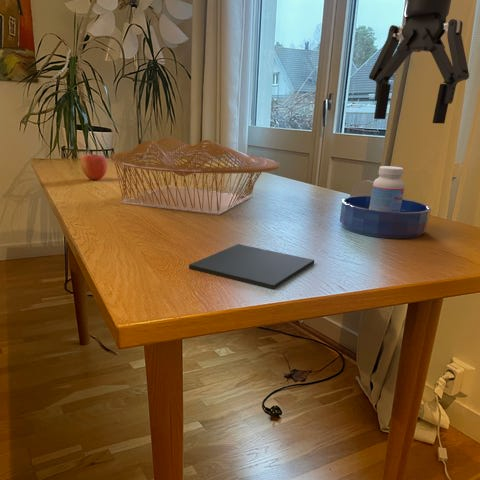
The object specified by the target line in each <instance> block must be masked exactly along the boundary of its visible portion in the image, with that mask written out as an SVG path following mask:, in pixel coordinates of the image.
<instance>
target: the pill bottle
mask: <svg viewBox="0 0 480 480" xmlns="http://www.w3.org/2000/svg"><path fill="white" fill-rule="evenodd" d="M378 175H379V176H378V177H377V178H375V179H374V181H373V182H374V183H373V188H372V194H371V200H370V206H369V209H370V210H376V211H385V212H400V209H401V204H402V199H404V198H403V197H404V191H405V187H406V186H405V185H406V184H405V182H404V181H403V180H402V177H403V175H404V168H403V167H401V166H392V165H381V166H379V169H378Z"/></svg>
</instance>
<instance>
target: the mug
mask: <svg viewBox="0 0 480 480" xmlns="http://www.w3.org/2000/svg"><path fill="white" fill-rule="evenodd" d="M373 183H374V181H373V180H369V179H365V180H361V181H359V182H357V183H356V184H355V185H354V186H353V187H352V189H351V191H350V194H349V197H352V196H371V194H372V188H373Z"/></svg>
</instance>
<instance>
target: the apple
mask: <svg viewBox="0 0 480 480" xmlns="http://www.w3.org/2000/svg"><path fill="white" fill-rule="evenodd" d="M80 168H81V170H82V172H83V174H84V175H85V177H87V179H89V180H92V179H93V180H96V181H99V180H101V179H102V178H103V177H104V176H106V173H107V171H108V160H107V158H106V157H105V156H103V155H99V149H97V150H96V154H89V153H88V154H84V155H82V156H81V157H80Z"/></svg>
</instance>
